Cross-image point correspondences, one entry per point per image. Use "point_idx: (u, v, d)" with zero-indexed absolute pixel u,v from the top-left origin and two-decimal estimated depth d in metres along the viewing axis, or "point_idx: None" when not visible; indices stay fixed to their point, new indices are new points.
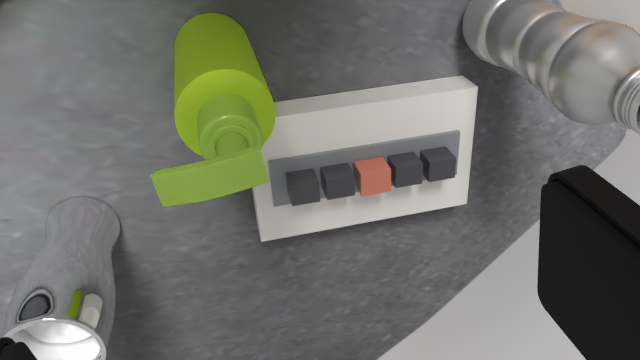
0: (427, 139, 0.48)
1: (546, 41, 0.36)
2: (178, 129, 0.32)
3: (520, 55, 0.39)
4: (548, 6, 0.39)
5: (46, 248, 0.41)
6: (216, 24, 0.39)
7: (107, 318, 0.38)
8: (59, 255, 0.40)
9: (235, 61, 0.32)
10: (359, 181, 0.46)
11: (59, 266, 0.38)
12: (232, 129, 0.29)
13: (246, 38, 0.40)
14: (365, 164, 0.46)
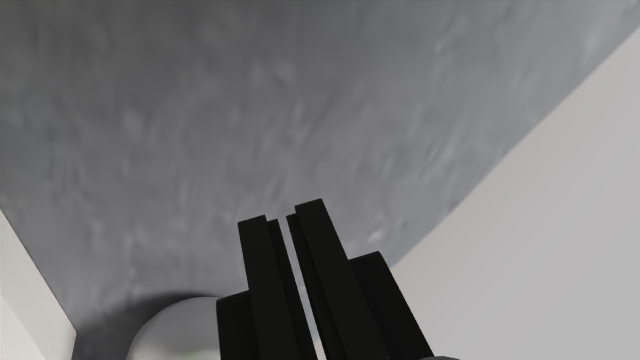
0: None
1: None
2: None
3: None
4: None
5: None
6: None
7: None
8: None
9: None
10: None
11: None
12: None
13: None
14: None
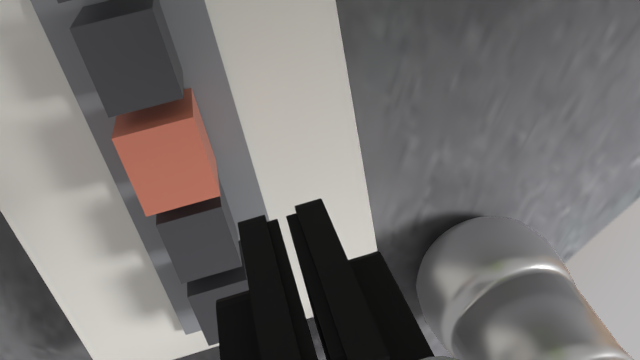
0: None
1: None
2: None
3: None
4: None
5: None
6: None
7: None
8: None
9: None
10: (156, 119, 0.15)
11: None
12: None
13: None
14: (200, 122, 0.16)
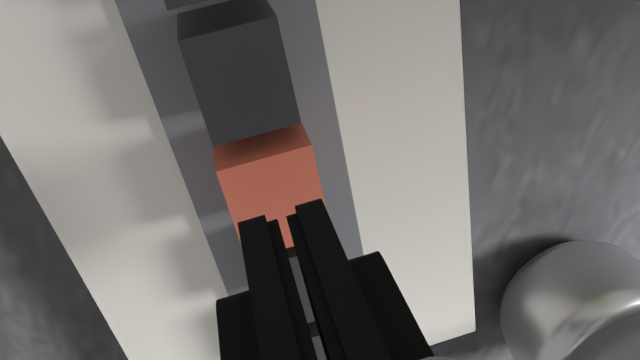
0: None
1: None
2: None
3: None
4: None
5: None
6: None
7: None
8: None
9: None
10: (264, 147, 0.13)
11: None
12: None
13: None
14: None
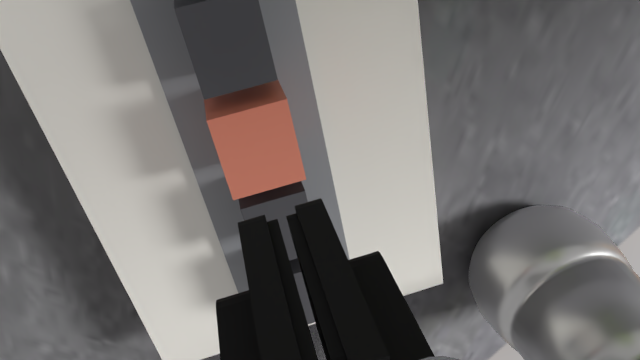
0: (337, 233, 0.20)
1: None
2: None
3: None
4: None
5: None
6: None
7: None
8: None
9: None
10: (247, 101, 0.15)
11: None
12: None
13: None
14: None
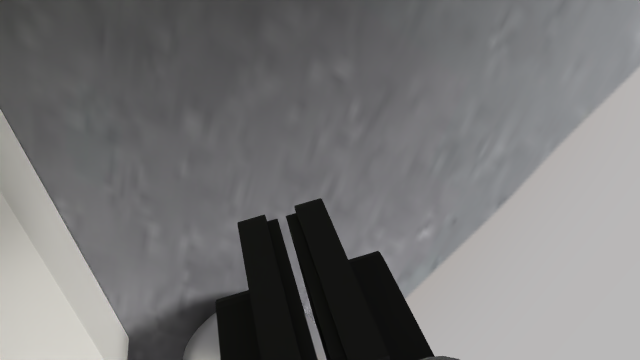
0: None
1: None
2: None
3: None
4: None
5: None
6: None
7: None
8: None
9: None
10: None
11: None
12: None
13: None
14: None
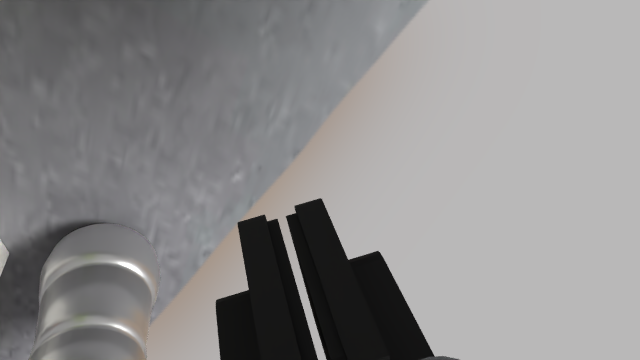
0: None
1: None
2: None
3: (64, 335, 0.25)
4: (144, 332, 0.28)
5: None
6: None
7: None
8: None
9: None
10: None
11: None
12: None
13: None
14: None
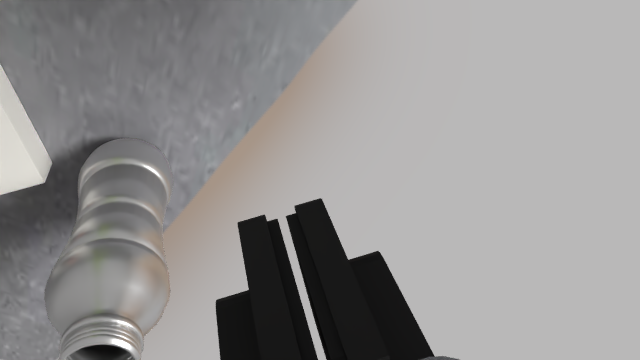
0: None
1: (127, 224, 0.31)
2: None
3: (101, 206, 0.33)
4: (161, 215, 0.36)
5: None
6: None
7: None
8: None
9: None
10: None
11: None
12: None
13: None
14: None
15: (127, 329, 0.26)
